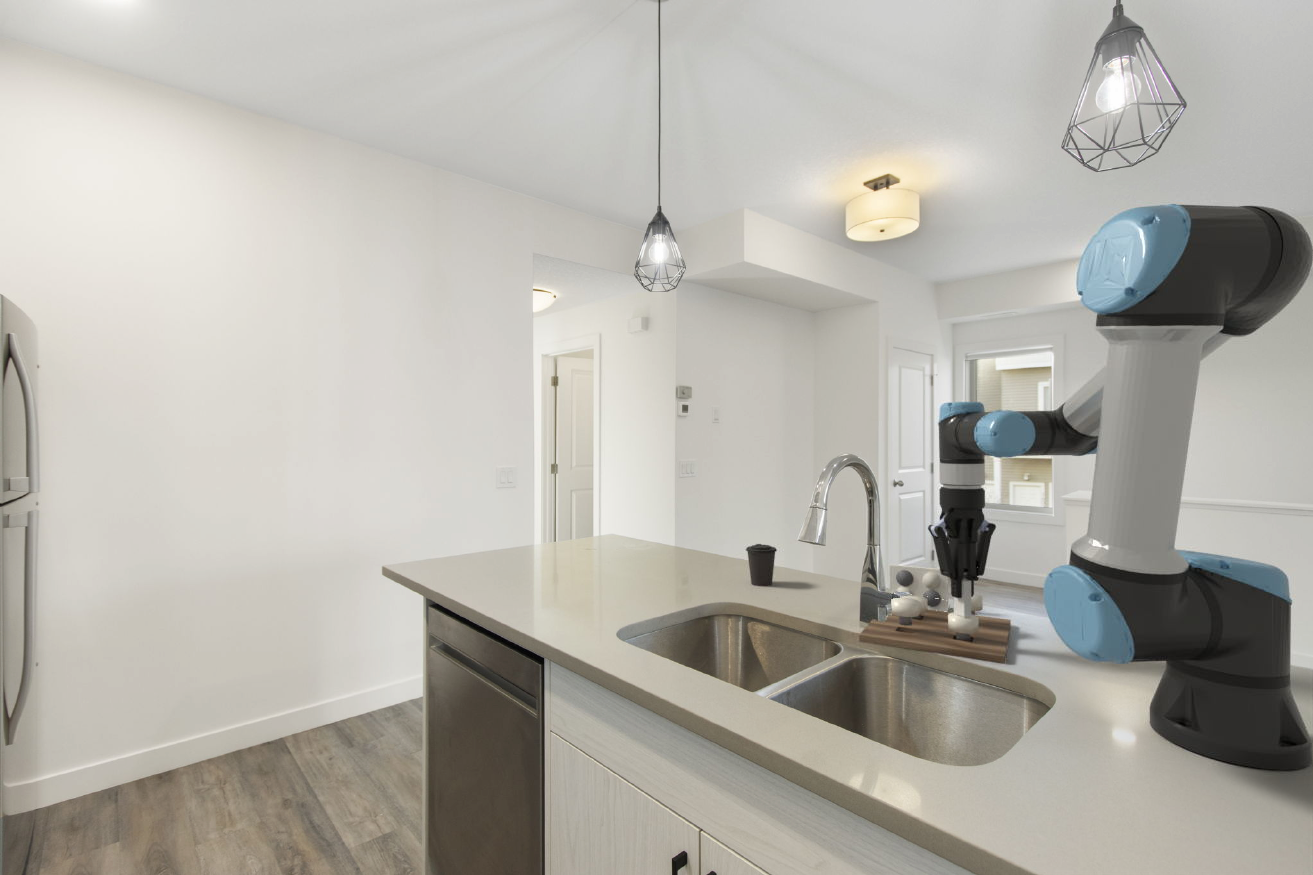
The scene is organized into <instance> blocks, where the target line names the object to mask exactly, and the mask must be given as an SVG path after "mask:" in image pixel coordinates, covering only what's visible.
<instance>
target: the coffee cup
mask: <svg viewBox="0 0 1313 875" xmlns="http://www.w3.org/2000/svg"><path fill="white" fill-rule="evenodd" d="M745 551H746V552H747V559H748V566H749V567H748V568H749V574H750V575H749V576H750V583H751V585H752V586H758V587H770V586H772V585H773V578H774V569H775V559H776V552H777V551H778V550H777V548H776V547H775V546H771V545H770V544H761V543H755V544H753V545H749V546H747V547H746V549H745Z"/></svg>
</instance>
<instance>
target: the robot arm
mask: <svg viewBox="0 0 1313 875" xmlns="http://www.w3.org/2000/svg"><path fill="white" fill-rule="evenodd" d="M1309 235H1310V234H1309V233H1308V232H1307V230H1306V228H1305V227H1304V225H1302V224H1301V223H1300V222H1299V221H1298V220H1297V219H1296V218H1294V217H1293V216H1291V215H1289V214H1288V213H1286V212H1284V211H1281V210H1279V209H1276V208H1273V207H1272V208H1271V207H1268V206H1261V205H1241V206H1240V205H1239V206H1235V205H1234V206H1233V205H1232V206H1231V205H1204V204H1203V205H1198V204H1176V203H1169V204H1161V205H1151V206H1138V207H1132V208H1129V209H1127V210H1123V211H1121V212H1119V213H1118V214H1116V215H1114V216H1113V217H1112V218H1110V219H1109V220H1107V221H1106V222H1105V223H1103V225H1102V226H1101V227H1100V229H1099V230H1098V231H1097V233H1096V234H1094V235H1093V236H1092V238H1090V241H1089V242H1088V243H1087V246H1085V249H1084V250H1083V253H1082V255H1081V258H1080V260H1079V264H1078V267H1077V271H1076V278H1075V279H1076V281H1075V282H1076V291H1077V295H1078V296H1081V297H1080V301H1081V304H1083V306H1084V307H1085V308H1087V309H1088V310H1090V311H1092V312H1094V313H1095V314H1096V321H1095V331H1097V332H1098V333H1099V334H1100V335H1101V336H1102V337H1104V339H1105V340H1106V341H1107V343H1108V349H1107V358H1106V359H1107V360H1106V365H1105V366H1103V367H1102V368H1101V369H1100V370H1099V371H1098V372H1097V373H1096V374H1095V375H1094V376H1092V377H1091V378H1090V379H1089V380H1088V381H1087V382H1086V383H1085V384H1084V385H1082V387H1080V388H1079V389H1078V390H1077V391H1076V392H1074V394H1073V395H1071V396H1070V398H1068V399H1067V400H1066V401H1065V402H1063V404H1062V403H1061V405H1060V406H1059V407H1058V408H1057V409H1055V410H1017V411H1016V410H1009V409H1007V410H1001V409H999V410H993V411H986V410H985V405H984V404H983V402H981V401H956V402H955V401H954V402H953V401H952V402H944V403H942V404H941V405H940V406H939V419H938V422H937V426H938V445H939V446H938V448H939V449H938V451H939V452H938V454H939V458H938V459H939V462H938V463H939V466H938V467H939V468H938V469H939V483H940V485H942V486H941V487H940V488H939V490H938V491H939V493H938V494H939V506H940V509H941V513H940V514H939V521H937V522H936V523H935V524H929V525H928V526H927V530H928V532H929V533H930V535H931V537H932V539H933V544H934V549H935V553H936V557H937V562H938V567H939V569H940V572H941V574H942V575H944V576H947V577H948V579H950V594H951V597H953V613H955V614H958V615H960V616H963V617H971V597H973V595H974V593H975V582H977V581H978V580H979V579H980V577H979V576H981V577H982V576H984V574H985V572H986V566H987V560H988V555H989V550H990V545H991V544H990V543H991V541H992V537H993V534H994V533H995V530H996V528H997V525H996V523H993V522H989V521H988V520H986V519H985V514H984V513H983V509H984V508H985V507H986V490H985V488H984V487H982V486H984V485H985V484H986V472H985V471H986V470H985V469H986V468H985V467H986V461H985V460H986V458H985V456H988V457H995V458H997V459H1001V458H1012V457H1015V458H1016V457H1031V456H1033V457H1034V456H1035V457H1036V456H1072V457H1073V456H1074V457H1082V456H1087V455H1095V462H1094V473H1093V480H1092V489H1091V497H1090V498H1091V499H1090V504H1089V514H1088V522H1087V530H1086V531H1087V532H1086V533H1085V535H1082V537H1080V538H1078V539H1077V540H1075V541H1073V542H1072V543H1071V546H1070V554H1069V562H1068V564H1063V565H1059V566H1057V567H1055V568H1053V569H1052V570H1051V572H1049V573H1048V574H1047V576H1046V578H1045V580H1044V584H1043V600H1044V605H1045V610H1046V613H1047V614H1046V615H1047V616H1048V619H1049V621H1050V624H1051V625H1052V627H1053V629H1054V630H1055V633H1056V635H1057V636H1058V637H1059V638H1060V640H1061V641H1062V642H1063V643H1064V645H1065V646H1066V647H1067V648H1068V649H1069V650H1071V652H1073V653H1075V654H1076V655H1077V656H1078V657H1081V658H1083V659H1085V660H1088V661H1090V662H1093V663H1094V662H1095V663H1114V664H1118V665H1126V664H1129V663H1138V662H1139V663H1141V662H1143V663H1144V662H1146V663H1147V662H1165V669H1164V672H1163V673H1162V675H1161V679H1160V680H1159V683H1158V685H1157V688H1156V690H1155V693H1154V694H1153V697H1152V699H1151V702H1150V703H1149V724H1150V727H1151V728H1152V729H1153V731H1155V733H1157V734H1158V735H1160V736H1161V737H1163V738H1164V739H1166V740H1168V741H1169V742H1172V743H1173V744H1175V745H1178V746H1179V747H1181V748H1183V749H1185V750H1189V751H1192V752H1194V753H1197V754H1200V755H1202V756H1206V757H1209V758H1211V759H1215V760H1219V761H1222V762H1227V763H1231V764H1234V765H1239V766H1244V767H1245V766H1246V767H1251V768H1255V769H1256V768H1258V769H1264V770H1265V769H1266V770H1275V771H1277V770H1278V771H1279V770H1280V771H1281V770H1282V771H1285V770H1290V771H1291V770H1298V769H1303V768H1306V767H1308V766H1309V765H1310V764H1311V763H1312V761H1313V754H1312V753H1313V747H1312V746H1313V744H1312V743H1313V742H1312V739H1311V737H1310V734H1309V732H1308V729H1307V726H1306V724H1305V722H1304V720H1303V718H1302V716H1301V713H1300V710H1299V708H1298V704H1297V703H1296V701H1295V699H1294V695H1293V693H1292V690H1291V646H1292V645H1291V642H1292V641H1291V637H1292V636H1291V633H1292V629H1291V627H1292V625H1291V623H1292V621H1291V620H1292V617H1291V616H1292V615H1291V614H1292V607H1291V606H1292V605H1293V600H1292V598H1291V597H1290V595H1291V593H1290V583H1289V577H1288V576H1287V574H1286V573H1285V572H1284V571H1283V570H1282V569H1280V568H1279V567H1277V566H1275V565H1272V564H1268V563H1264V562H1261V561H1255V560H1250V559H1244V558H1239V557H1232V556H1227V555H1223V554H1222V555H1220V554H1215V553H1208V552H1202V551H1194V550H1186V549H1176V548H1175V545H1176V544H1175V543H1176V537H1177V532H1178V531H1177V530H1178V522H1179V516H1180V509H1181V508H1180V507H1181V500H1182V493H1183V486H1184V480H1185V479H1184V478H1185V474H1186V473H1185V472H1186V465H1187V458H1188V453H1189V451H1188V450H1189V443H1190V438H1191V437H1190V436H1191V429H1192V424H1193V415H1194V410H1195V401H1196V394H1197V389H1198V388H1197V387H1198V381H1199V380H1198V379H1199V374H1200V365H1201V362H1202V361H1203V360H1204V359H1205V358H1207V357H1208V356H1209V355H1211V354H1212V353H1214V352H1215V351H1216V350H1217V349H1218V348H1220V347H1221V346H1223V345H1224V344H1225V343H1227V342H1228V341H1229V340H1231V339H1232V338H1243V337H1247V336H1250V335H1251V334H1253V333H1254V332H1256V331H1258V329H1260V328H1262V326H1264V325H1265V324H1267V323H1269V322H1270V321H1271V320H1272V319H1274V318H1275V316H1277V315H1278V314H1280V313H1281V311H1283V310H1284V309H1285V307H1287V306H1288V305H1289V304H1290V303H1291V302H1292V301H1293V300H1294V299H1295V297H1296V296H1297V295H1298V294H1299V293H1300V291H1301V289H1302V288H1303V287H1304V285H1305V283H1306V281H1307V280H1308V279H1309V278H1308V277H1309V276H1310V272H1311V271H1312V270H1311V269H1312V266H1313V243H1312V241H1311V237H1310V236H1309Z"/></svg>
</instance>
